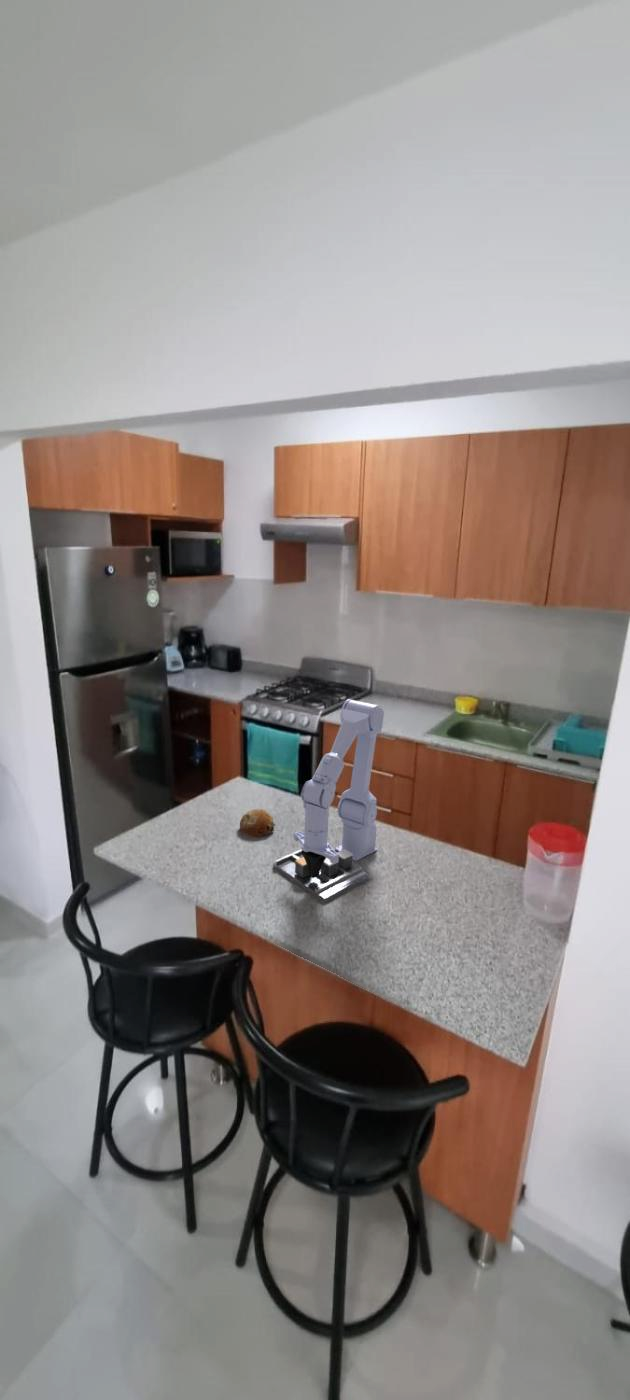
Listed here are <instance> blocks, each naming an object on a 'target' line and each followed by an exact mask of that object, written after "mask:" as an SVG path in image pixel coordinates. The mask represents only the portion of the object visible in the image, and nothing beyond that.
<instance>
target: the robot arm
mask: <svg viewBox="0 0 630 1400" xmlns="http://www.w3.org/2000/svg"><path fill="white" fill-rule="evenodd" d="M384 717H385V711H384V709H383V708H382V706H381V705H380V704H374V703H369V702H364V701H358V700H354V699H352V698H348V699H346V700H345V701H344V703H343V705H342V707H341V710H340V723H341V724H340V727H339V729H338V731H337V734H336V737H335V739H334V742H333V744H332V746H331V750H330V752H328V753H325V754H324V755H323V756H322V758H321V760H320V762H319V764H318V767H317V769H316V770H315V771H314V774H313V776H312V778H311V779H310V780H307V781H305V783H304V784H303V787H302V789H301V793H300V799H301V801H302V802H303V805H302V807H303V809H304V810H305V814H304V816H305V817H304V832H303V831H301V830H299V831H295V832H293V840H294V841H295V842H298V841H299V843H300V844H301V849H302V851H301V853H302V855H303V857H304V859H305V861H306V864H307V867H308V871H309V875H310V876H311V877H312V878H315V877H317V876H319V873H320V870H321V867H322V865H323V863H324V861H325V859H326V858H328V859H329V860H330V862H331V863H332V864H333V863H335V862H337V861H339V854H338V852H340V851H342V850H344V849H345V850H347V851H349V852H351V853H352V854H353V859H352V861H354V862H356V861H358V860H360V859H362V858H364V857H366V856H368V855H370V854H373V853H374V852H377V851H378V847H376V841H377V840H376V839H377V825H376V823H375V821H376V818H377V816H378V810H377V800H378V799H377V798H376V796H374V795H373V794H372V793H371V791H370V790H369V789H370V782H371V776H372V775H371V774H372V769H373V762H374V754H375V748H376V740H377V735H378V734H381V732H382V729H383V722H384ZM355 739H357V740H356V746H355V750H354V751H355V753H354V759H353V764H352V765H353V766H352V767H353V768H352V773H351V780H350V788H348V789H346V790H344V791H343V792H342V793H341V796H340V799H339V801H338V805H337V816H338V817H339V818H340V819H341V821H340V822H341V823H343V824H342V839H341V841H342V842H341V844H340V845H339V846H336V847H335V848H333V847H332V845H330V843H329V842H328V835H329V831H328V830H329V816H330V815H329V812H330V811H329V810H330V806H331V804H332V803H333V802H334V799H335V796H336V793H335V792H336V789H337V785H336V784H337V782H338V780H339V778H340V777H341V776H340V775H341V774H342V772H343V770H344V767H345V762H344V757H345V756H346V754H347V752H348V751H349V749H350V748H351V746H352V744H353V742H354V741H355ZM335 850H336V851H335ZM337 851H338V852H337Z"/></svg>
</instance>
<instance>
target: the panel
mask: <svg viewBox="0 0 630 1400" xmlns="http://www.w3.org/2000/svg"><path fill="white" fill-rule="evenodd" d="M301 851H302V848H300V849H299V850H296V851H293V852H291V853H290V854H287V855H285V856H282V857H280V858H278V859H275V860H274V862H272V867H273V868H274V869H275V870H277V871H278V872H279V873H281V874H282V875H283V876H285V877H287V878H288V879H290V880H291V882H294V883H295V884H297V886H299V887H301V888H302V889H303V890H305V891H306V892H308V893H309V894H311V895H312V896H313V897H315V898H316V899H318V900H319V901H320V902H322V903H323V904H325V903H327V902H329V901H330V900H332V899H335V898H336V897H339V896H340V895H342V894H344V893H346V892H347V891H348V892H349V890H351V889H353V888H355V887H357V886H359V885H360V884H362V883H365V882H366V881H368V880H369V879H370V874H368V873H367V872H365V871H364V870H363V867H362V866H361V865H359V866H355V865H354V864H352V866H351V867H349V868H347V869H345V870H344V869H342V868H340V867H339V866H338V873H337V874H335V875H333V876H331V877H328V876H327V875H325V874H324V873H322V872H321V870H320V873H319V876H317V877H315V878H312V877H311V876H310V875H308V876H306V877H304V878H302V877H301V876H299V875H298V874H296V873H295V861H296V860H298V859H300V858H302V857H303V855H302V853H301Z"/></svg>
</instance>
